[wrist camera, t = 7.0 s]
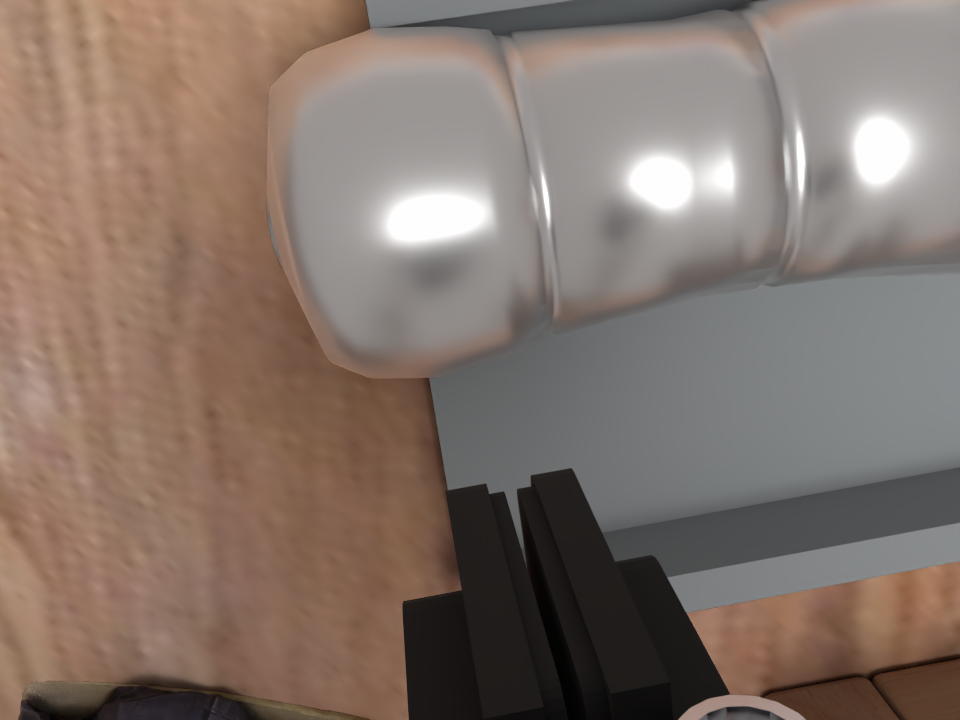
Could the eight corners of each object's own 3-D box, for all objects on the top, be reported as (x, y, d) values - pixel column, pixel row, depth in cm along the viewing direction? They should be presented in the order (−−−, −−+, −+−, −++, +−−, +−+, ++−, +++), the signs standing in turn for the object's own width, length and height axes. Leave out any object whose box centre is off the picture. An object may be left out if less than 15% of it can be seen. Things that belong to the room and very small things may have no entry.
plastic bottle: (258, 58, 19) (1129, -91, 20) (325, 351, 21) (1110, 203, 22) (195, 43, 13) (1463, -173, 14) (300, 459, 15) (1392, 248, 16)
